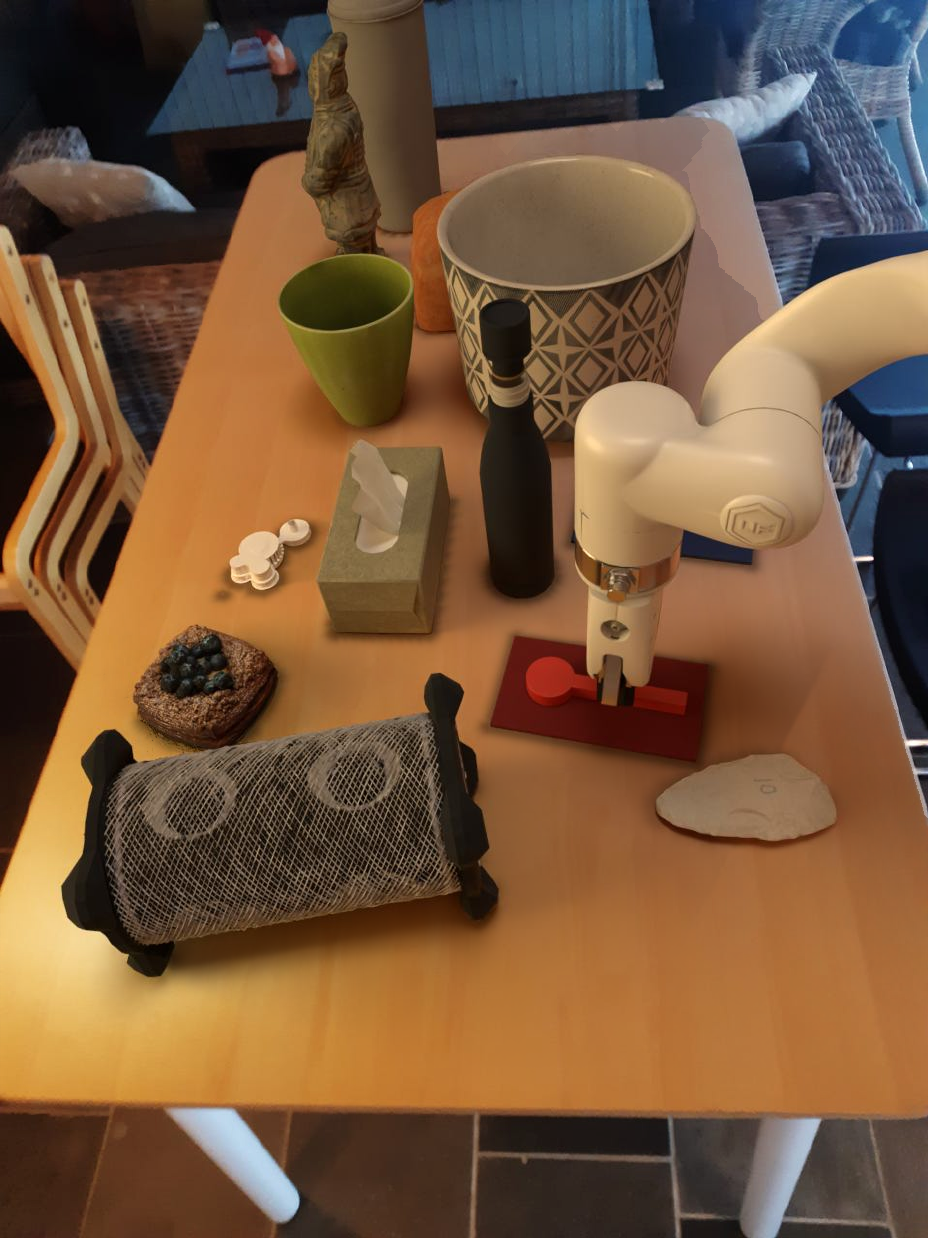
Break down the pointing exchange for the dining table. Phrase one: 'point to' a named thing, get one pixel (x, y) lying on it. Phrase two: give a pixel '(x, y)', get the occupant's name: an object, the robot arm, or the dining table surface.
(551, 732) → the maroon mat
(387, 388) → the flower pot
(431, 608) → the tissue box
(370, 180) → the statue
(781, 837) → the stone
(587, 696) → the red spoon
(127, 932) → the speaker
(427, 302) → the bread
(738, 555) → the navy mat
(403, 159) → the canister
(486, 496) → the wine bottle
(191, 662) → the pastry
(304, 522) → the white lobed flat piece
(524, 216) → the planter
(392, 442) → the dining table surface
